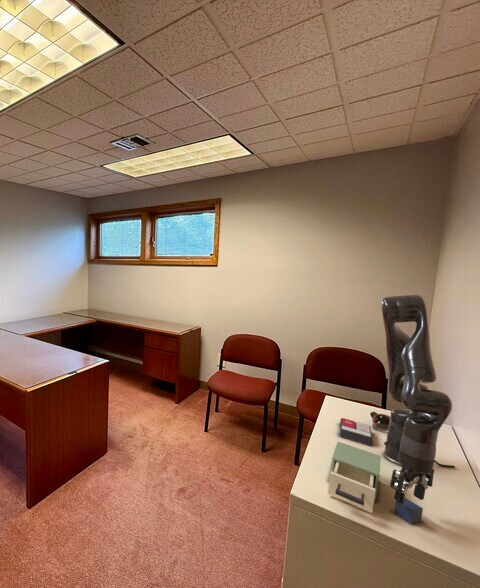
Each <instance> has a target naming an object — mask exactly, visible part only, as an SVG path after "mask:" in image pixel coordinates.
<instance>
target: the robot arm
mask: <svg viewBox="0 0 480 588" xmlns="http://www.w3.org/2000/svg"><path fill="white" fill-rule="evenodd" d="M380 309H381V310H380V311H381V315H382V322H383V326H384V332H385V343H386V344H385V347H386V348H385V349H386V358H387V363H388V394H389V397H390V399H391V400H393V401H395V402H398V403H401V404H402V405H403V406H404V407H405V408H393V409H391V411H390V415H389V416H390V421H389V428H388V430H387V435H386V439H385V440H386V441H384V442H383V446H385V447H384V451H383V457H385V458H386V459H387V460H388V461H390V462H391V463H394V464H396V465H399V466H401V469H400V470H397V469H396V468H395V469H392V473H391V477H390V482H389V487H390V489H391V488H392V489H393V490H394V495H393V500H394V501H395V502H396V501H397V502H398V503H400V504H404V500H405V498H406V492H407V491H408V490H409V489H412V488H413V487H414V489H413V497H415V498H417V499H418V500H420V501H423V500H424V499H425V494H426V490H428V488H429V487H432V486H433V483H434V475H435V469H434V465H435V464H436V465H437V466H439V467H443V468H451V469H452V468H454V469H455V468H456V466H455V465H452V464H442V463H440V462H438V461H437V460H436V453H437V441H438V435H439V431H440V429H441V428H442V426H443V425H444V423H445V422H446V420H447V419H448V417H449V416H450V414H451V413H452V410H453V401H452V399H451V397H449V395H448V394H446V393H445V392H443V391H439V390H432V389H430V388H429V387H428V386H427V385H426V384H431V383H434V382H436V381H437V372H436V368H435V365H434V361H433V356H432V351H431V350H432V349H431V332H430V322H429V320H430V319H429V312H428V306H427V303H426V300H425V298H424V297H423V295H419V294H408V295H394V296H385V297H384V298H382V299H381V302H380ZM399 323H415V329H414V331H413V333H412V335H411V336H410V335H409V334H408V333H407V332H405V331H404V330H403V329H402V328H401V327H400V326H399V325H398V324H399Z"/></svg>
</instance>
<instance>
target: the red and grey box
mask: <svg viewBox="0 0 480 588" xmlns="http://www.w3.org/2000/svg"><path fill="white" fill-rule="evenodd" d="M339 421H340V422H339V437H340V438H344V439H346V440H347V439H348V440H351V441H353V442H357V443H361V444H365V445H367V446H372V444H373V433H372V427H371V426H370V425H369V424H367V423H363V422H360V421H355V420H352V419H348V418H345V417H341V418H340V420H339Z"/></svg>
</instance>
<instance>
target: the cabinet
mask: <svg viewBox="0 0 480 588" xmlns="http://www.w3.org/2000/svg"><path fill="white" fill-rule="evenodd" d="M381 459H382V457H381V455H379V454H378V453H373V452H370V451H368V450H364V449H361V448H359V447H356V446H353V445H349V444H347V443H344V442H341V441H339V440H338V441H337V442H336V445H335V448H334V451H333V454H332V457H331V464H330V471H329V472H331V471H332V472H334V469H335V465H336V462H340V463H343V464H345V465H348V466H351V467H353V468H356V469H359V470H361V471H364V472H367V473H370V474H372V475H374V480H373V488H375V489H376V491H375V498H374V502H376V499H377V494H378V488H379V482H380V473H381ZM329 479H330V477H329ZM329 479H328V480H329Z"/></svg>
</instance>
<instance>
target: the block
mask: <svg viewBox="0 0 480 588" xmlns="http://www.w3.org/2000/svg"><path fill="white" fill-rule="evenodd" d="M423 511H424V508H423V507H421V506H420V505H418V504H416V503H415V502H413V501H411V500H410V499H408V498H407V497H405V500H404V504H400V503H398V502H397V501H395V504H394V510H393V513H394V514H395V515H397V516H398V517H399V518H401V519H403V520H404V521H406V522H407V523H409V524H410V525H412V524H416V523H419V522H420V523H421V522H422V516H423Z"/></svg>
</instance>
